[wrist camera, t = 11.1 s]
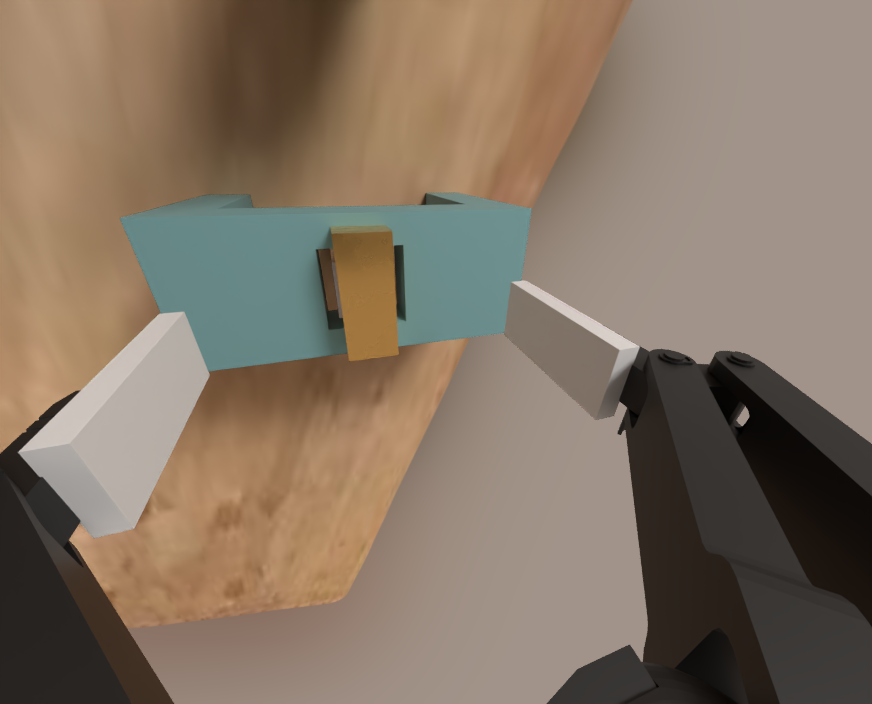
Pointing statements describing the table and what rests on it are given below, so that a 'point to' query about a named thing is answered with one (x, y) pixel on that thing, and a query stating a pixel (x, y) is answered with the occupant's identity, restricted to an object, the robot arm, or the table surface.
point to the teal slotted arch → (302, 276)
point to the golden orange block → (366, 289)
